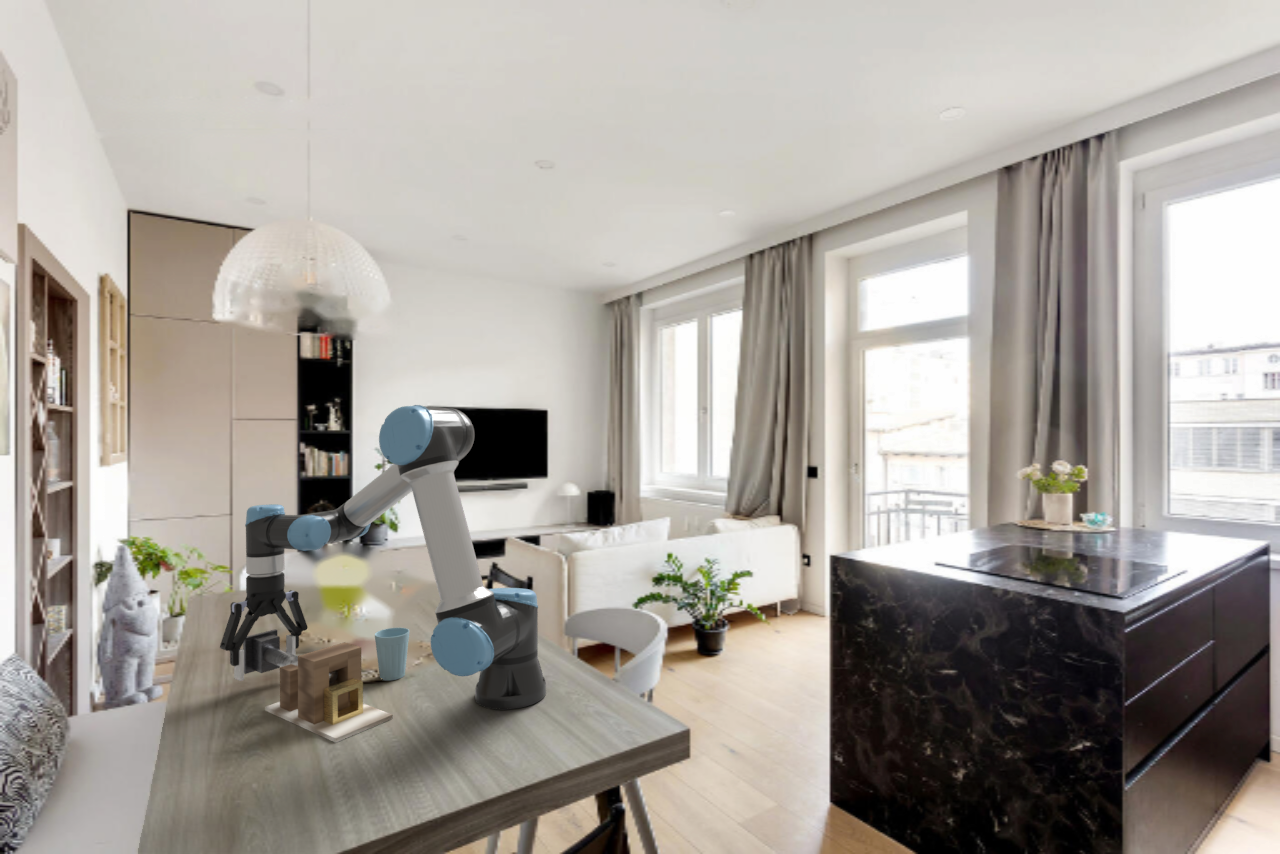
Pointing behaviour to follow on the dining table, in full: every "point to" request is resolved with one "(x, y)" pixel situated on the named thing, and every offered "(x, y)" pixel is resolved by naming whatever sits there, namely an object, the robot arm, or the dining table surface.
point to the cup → (392, 652)
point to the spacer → (331, 701)
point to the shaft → (269, 654)
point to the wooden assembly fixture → (307, 692)
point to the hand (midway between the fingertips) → (265, 671)
